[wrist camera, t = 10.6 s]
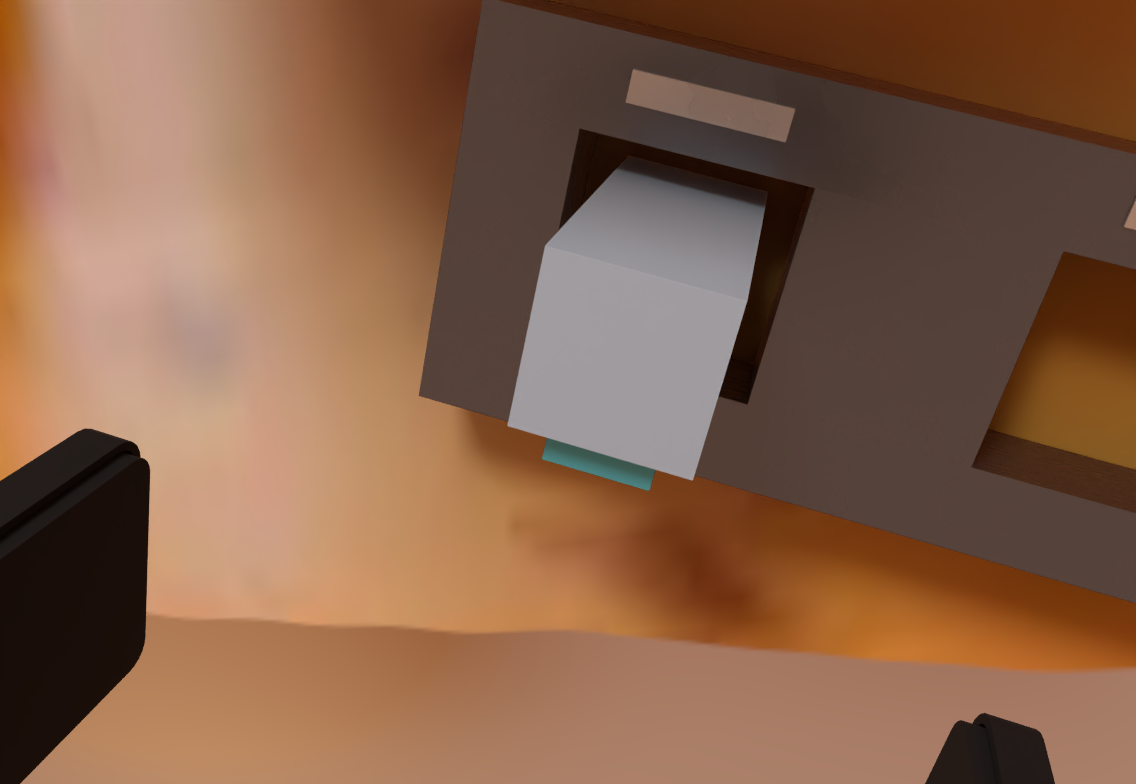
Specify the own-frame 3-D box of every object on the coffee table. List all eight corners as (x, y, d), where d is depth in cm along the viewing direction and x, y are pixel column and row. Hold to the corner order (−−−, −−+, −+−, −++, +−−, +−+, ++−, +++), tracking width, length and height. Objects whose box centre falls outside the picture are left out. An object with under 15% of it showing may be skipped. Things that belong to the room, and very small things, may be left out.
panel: (1451, 217, 25) (1530, 250, 22) (1237, 582, 30) (1281, 647, 27) (514, -8, 28) (481, -4, 25) (451, 359, 33) (417, 396, 30)
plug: (768, 191, 29) (747, 300, 20) (721, 348, 31) (682, 513, 22) (628, 155, 29) (545, 245, 20) (591, 312, 31) (500, 458, 22)
